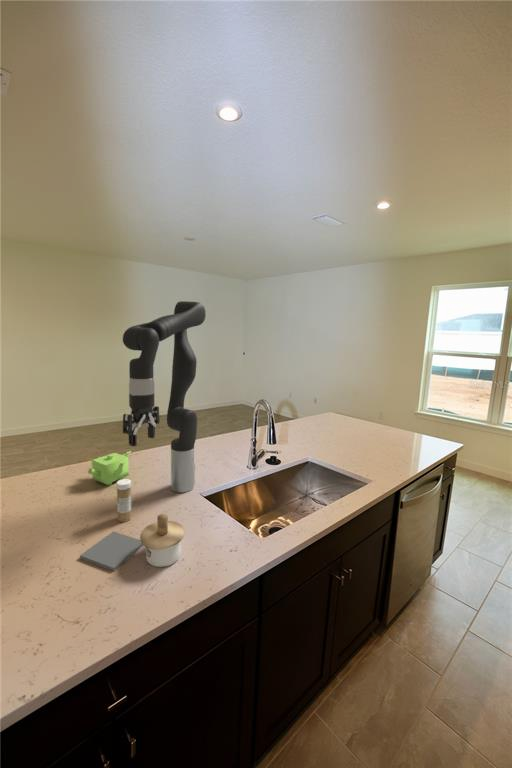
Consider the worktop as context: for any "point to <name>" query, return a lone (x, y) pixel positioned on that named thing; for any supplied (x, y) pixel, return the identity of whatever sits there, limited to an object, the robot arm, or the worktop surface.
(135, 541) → the mat
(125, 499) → the sprinkles bottle
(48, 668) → the worktop surface
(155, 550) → the mug
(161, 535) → the lid
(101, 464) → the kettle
